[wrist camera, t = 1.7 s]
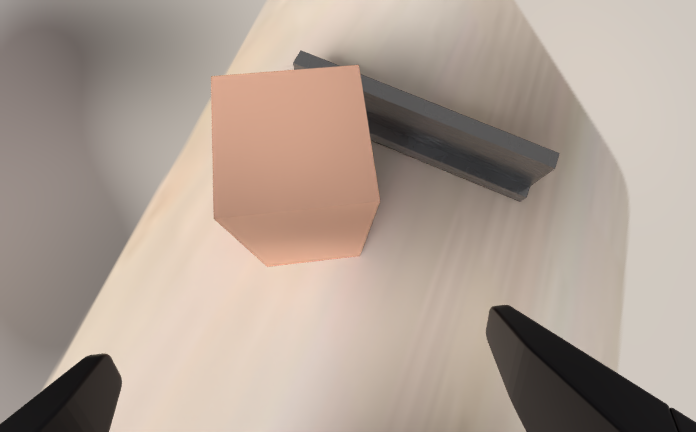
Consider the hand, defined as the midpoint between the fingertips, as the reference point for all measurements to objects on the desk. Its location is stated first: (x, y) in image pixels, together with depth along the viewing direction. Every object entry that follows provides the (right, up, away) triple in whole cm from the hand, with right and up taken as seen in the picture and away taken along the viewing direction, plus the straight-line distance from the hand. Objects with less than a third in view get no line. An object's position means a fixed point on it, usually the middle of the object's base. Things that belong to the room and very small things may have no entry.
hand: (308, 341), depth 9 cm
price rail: (+5, +8, +15) cm, 18 cm away
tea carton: (-1, +3, +14) cm, 14 cm away
